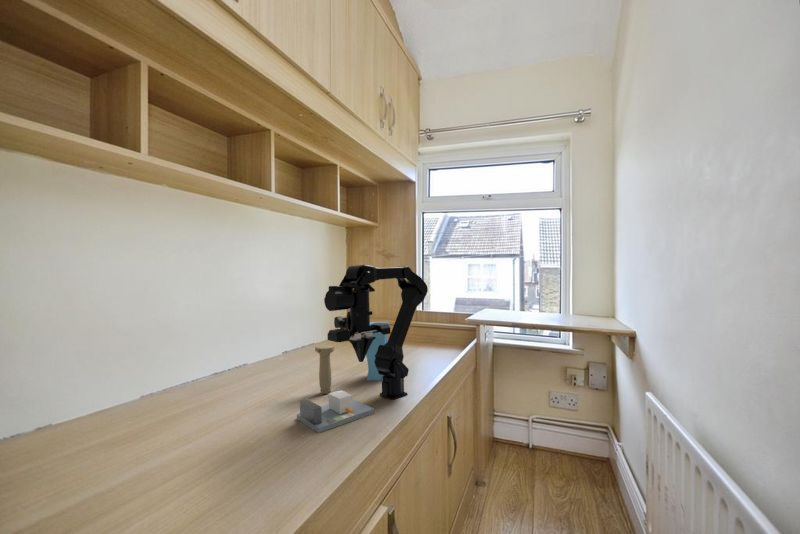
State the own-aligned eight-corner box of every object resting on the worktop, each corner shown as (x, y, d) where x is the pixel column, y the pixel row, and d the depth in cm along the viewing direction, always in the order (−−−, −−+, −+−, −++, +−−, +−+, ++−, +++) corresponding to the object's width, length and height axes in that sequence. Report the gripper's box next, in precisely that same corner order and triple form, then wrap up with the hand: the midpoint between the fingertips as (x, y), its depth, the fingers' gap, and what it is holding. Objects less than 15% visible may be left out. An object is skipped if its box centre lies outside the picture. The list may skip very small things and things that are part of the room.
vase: (388, 380, 124) (386, 324, 125) (366, 380, 125) (365, 325, 125) (390, 373, 132) (389, 322, 133) (370, 374, 133) (368, 322, 133)
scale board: (350, 401, 103) (350, 396, 104) (374, 413, 95) (374, 407, 95) (296, 418, 92) (296, 412, 92) (318, 433, 83) (318, 426, 83)
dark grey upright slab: (307, 414, 92) (306, 399, 92) (321, 423, 86) (321, 406, 86) (300, 416, 91) (299, 401, 91) (314, 425, 85) (314, 409, 85)
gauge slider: (341, 404, 98) (340, 390, 98) (359, 412, 91) (358, 397, 91) (328, 408, 95) (328, 393, 95) (346, 417, 89) (345, 401, 89)
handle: (328, 396, 109) (327, 349, 109) (313, 393, 112) (312, 347, 112) (338, 391, 113) (337, 346, 114) (323, 389, 116) (322, 344, 117)
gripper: (369, 304, 112) (370, 352, 112) (317, 309, 100) (318, 363, 99) (390, 306, 104) (392, 357, 103) (337, 311, 91) (338, 370, 91)
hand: (361, 361), depth 99 cm, fingers closed
